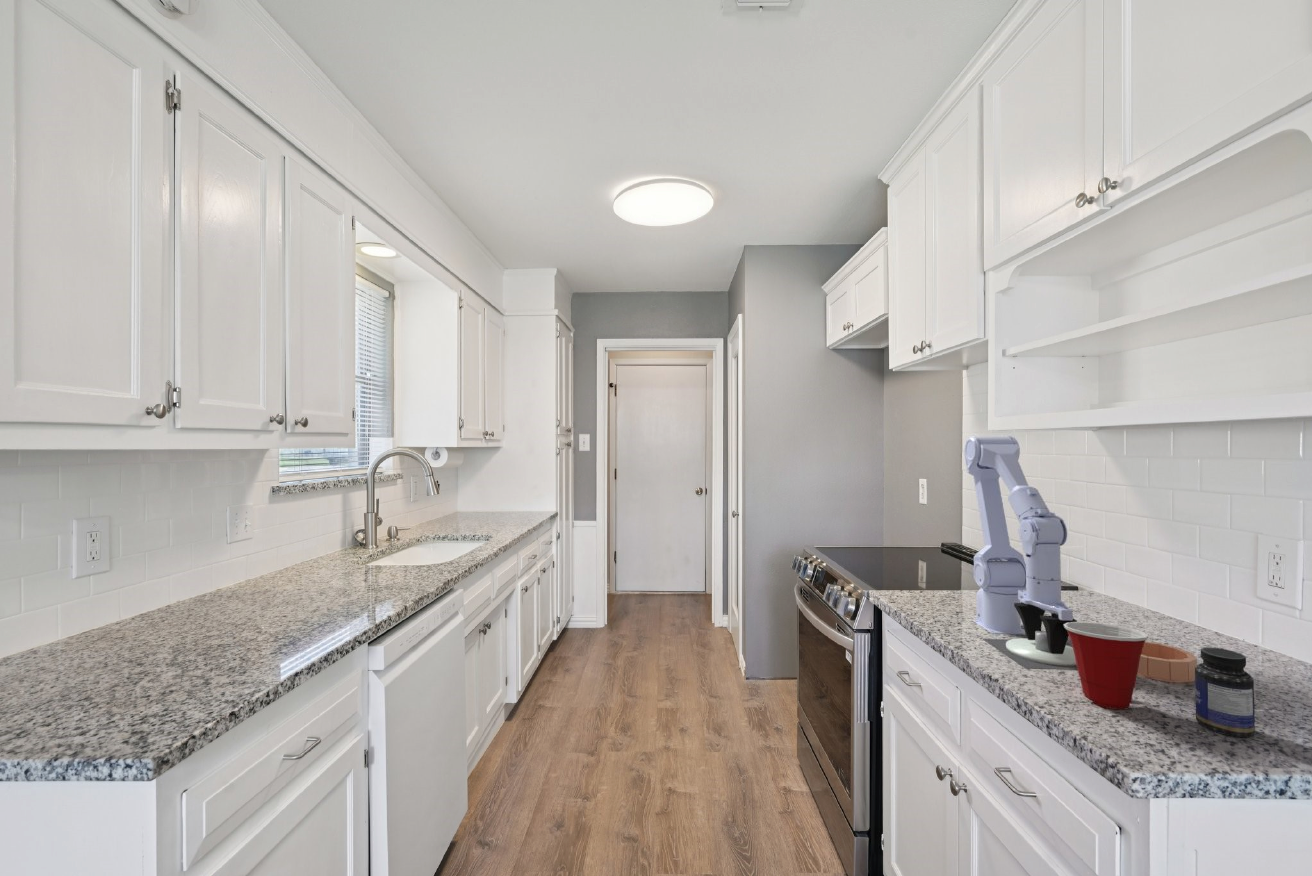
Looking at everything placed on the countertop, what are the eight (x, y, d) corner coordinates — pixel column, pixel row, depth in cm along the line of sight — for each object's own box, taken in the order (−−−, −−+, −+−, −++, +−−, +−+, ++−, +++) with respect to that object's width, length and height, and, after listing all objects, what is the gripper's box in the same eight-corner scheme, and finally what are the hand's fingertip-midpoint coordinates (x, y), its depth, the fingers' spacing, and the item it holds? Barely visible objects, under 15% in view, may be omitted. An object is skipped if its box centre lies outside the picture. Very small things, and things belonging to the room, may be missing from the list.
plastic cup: (1127, 691, 95) (1125, 619, 95) (1166, 721, 84) (1164, 640, 85) (1053, 684, 98) (1052, 615, 98) (1082, 712, 87) (1080, 634, 87)
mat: (982, 641, 119) (982, 638, 119) (1061, 643, 118) (1061, 640, 118) (1025, 670, 103) (1025, 668, 103) (1117, 673, 102) (1117, 670, 102)
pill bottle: (1198, 714, 86) (1196, 642, 87) (1256, 729, 82) (1254, 653, 82) (1193, 727, 82) (1191, 652, 82) (1254, 743, 78) (1252, 663, 78)
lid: (993, 641, 118) (993, 622, 118) (1058, 643, 117) (1058, 623, 117) (1029, 665, 105) (1028, 643, 105) (1102, 667, 104) (1102, 645, 104)
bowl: (1101, 660, 108) (1100, 639, 108) (1162, 661, 107) (1161, 640, 107) (1145, 683, 97) (1145, 660, 98) (1213, 685, 96) (1213, 662, 97)
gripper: (1002, 569, 119) (1003, 633, 118) (1043, 586, 104) (1045, 659, 104) (1037, 569, 118) (1039, 634, 118) (1084, 586, 104) (1085, 660, 103)
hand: (1044, 646), depth 111 cm, fingers open, 7 cm apart
